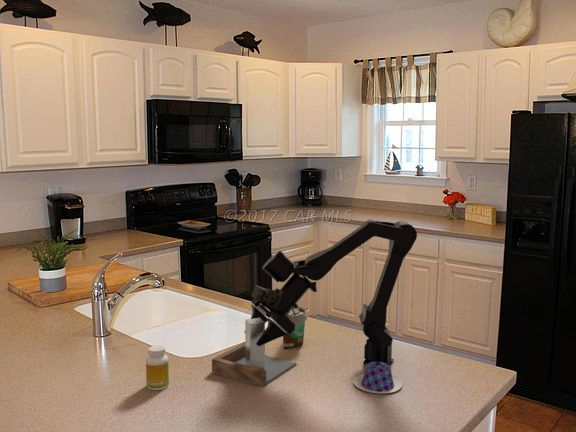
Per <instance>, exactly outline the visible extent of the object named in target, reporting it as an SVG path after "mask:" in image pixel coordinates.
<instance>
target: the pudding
mask: <svg viewBox="0 0 576 432" xmlns="http://www.w3.org/2000/svg"><path fill="white" fill-rule="evenodd" d="M365 365H366V366H365V369H364V372H363V373H362V374H358V375H357V376H355V377H354V379H353V384H354V386H355V387H356V388H358V389H360V390H362V391H364V392H368V393H372V394H373V393H374V394H390V393H395V392H397V391H399V390H400V389H401V388H402V387H403V382H402V381H401V379H399V378H398V377H396V376H393V373H392V369H391V367H390V365H388V364H386V363H383V362H371V363H368V364H365Z"/></svg>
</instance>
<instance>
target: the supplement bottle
mask: <svg viewBox="0 0 576 432" xmlns="http://www.w3.org/2000/svg"><path fill="white" fill-rule="evenodd" d="M147 350H148V351H147V353H148V356H147V357H146V358H145V376H146V378H145V384H146V388H147V389H149V390H151V391H161V390H164V389H166V388H168V386H169V385H170V374H169V372H170V371H169V365H170V364H169V357H168V355H167V354H166V347H165V346H164V345H152V346H150V347H148V349H147Z"/></svg>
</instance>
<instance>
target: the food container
mask: <svg viewBox="0 0 576 432" xmlns="http://www.w3.org/2000/svg"><path fill="white" fill-rule="evenodd" d="M286 316H287V317H288V318H289V319H290V320H291V321H292V322H293V323H294V324H295V331H294V332H293V333H292V334H291V335H290V334H288V333H287V332H286V334H287V336H282V347H283V350H291V349H292V350H293V349H298V348H300V347H302V346H303V345H304V338H305V326H306V321H307V320H308V314H307V311H306V309H305V308H304V307H302V306H299V305H298V307H297V308H294V307H293V308H292V309H291V310H290V311H289V313H288V314H287V315H286Z"/></svg>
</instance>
